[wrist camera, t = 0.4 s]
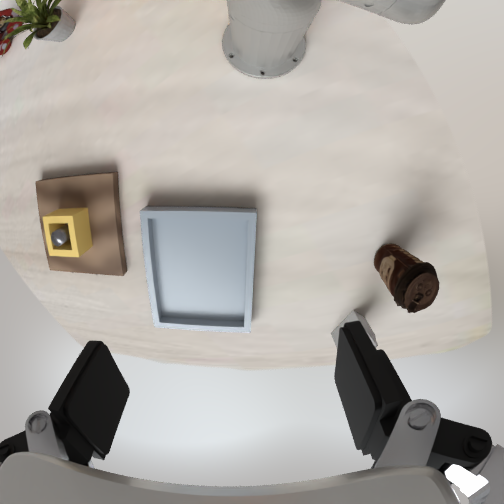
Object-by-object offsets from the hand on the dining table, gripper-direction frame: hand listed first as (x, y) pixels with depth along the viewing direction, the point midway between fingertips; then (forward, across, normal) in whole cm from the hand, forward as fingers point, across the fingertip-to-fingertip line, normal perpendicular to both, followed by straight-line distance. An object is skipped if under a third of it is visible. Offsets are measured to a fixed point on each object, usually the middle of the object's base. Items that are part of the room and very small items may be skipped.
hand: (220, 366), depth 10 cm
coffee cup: (+36, -26, +14) cm, 46 cm away
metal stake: (+34, +30, 0) cm, 45 cm away
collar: (+34, +30, 0) cm, 45 cm away
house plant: (+35, +29, -38) cm, 59 cm away
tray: (+36, +8, +12) cm, 38 cm away
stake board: (+36, +30, 0) cm, 46 cm away
